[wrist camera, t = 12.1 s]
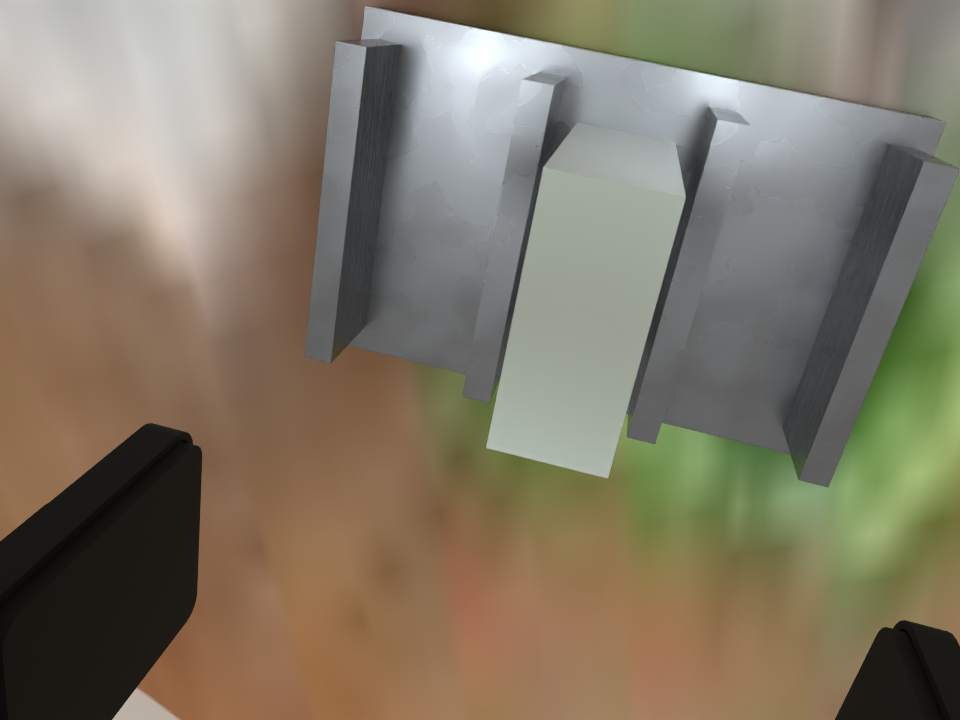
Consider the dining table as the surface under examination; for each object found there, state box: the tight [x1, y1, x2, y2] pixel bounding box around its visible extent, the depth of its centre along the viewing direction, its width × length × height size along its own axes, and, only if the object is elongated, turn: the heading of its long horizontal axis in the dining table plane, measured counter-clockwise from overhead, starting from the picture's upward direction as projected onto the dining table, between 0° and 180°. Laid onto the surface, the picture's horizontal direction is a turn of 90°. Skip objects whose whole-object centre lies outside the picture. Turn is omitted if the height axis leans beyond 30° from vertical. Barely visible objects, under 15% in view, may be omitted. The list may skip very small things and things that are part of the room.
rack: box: [305, 6, 959, 487], centre depth 30 cm, size 13×20×6 cm, turn 80°
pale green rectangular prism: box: [486, 122, 686, 478], centre depth 26 cm, size 8×4×10 cm, turn 170°
